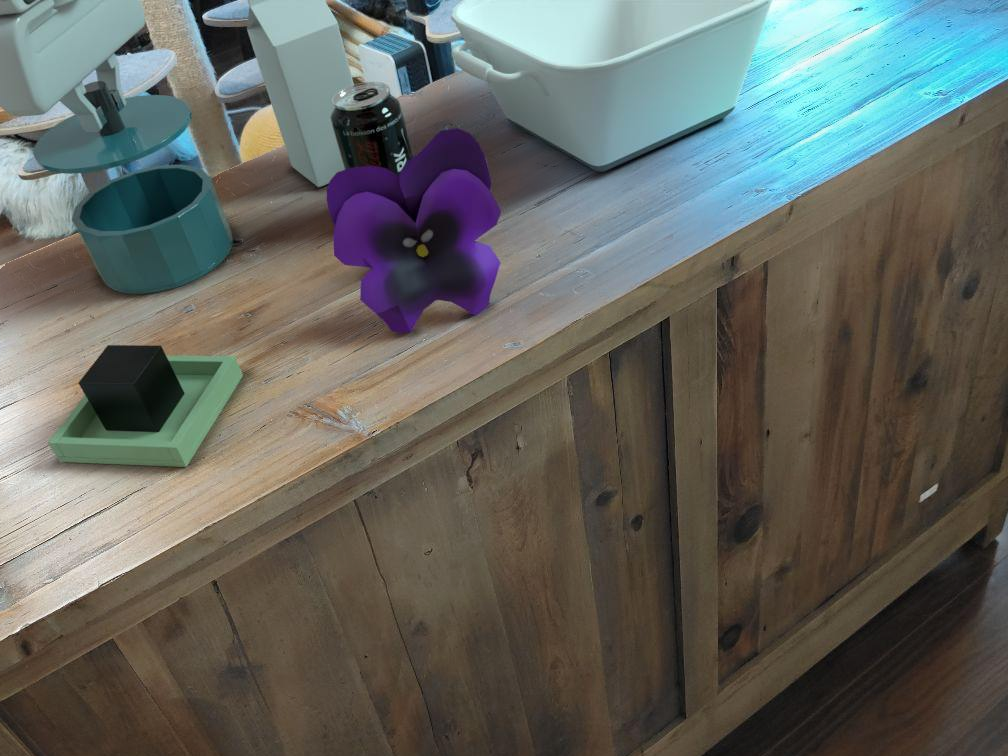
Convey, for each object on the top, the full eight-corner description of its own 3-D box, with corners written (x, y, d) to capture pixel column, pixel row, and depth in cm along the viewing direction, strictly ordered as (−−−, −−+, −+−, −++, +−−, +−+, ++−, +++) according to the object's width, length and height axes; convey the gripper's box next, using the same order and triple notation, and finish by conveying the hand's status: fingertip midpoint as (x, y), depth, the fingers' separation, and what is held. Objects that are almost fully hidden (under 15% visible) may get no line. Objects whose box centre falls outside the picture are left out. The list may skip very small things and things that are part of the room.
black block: (105, 430, 83) (77, 382, 80) (133, 392, 86) (107, 344, 83) (159, 432, 82) (133, 383, 78) (185, 393, 85) (161, 345, 82)
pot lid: (8, 182, 91) (-22, 128, 88) (87, 109, 101) (63, 57, 97) (151, 177, 88) (125, 120, 84) (219, 102, 98) (199, 48, 94)
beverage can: (435, 210, 102) (409, 92, 94) (376, 236, 100) (343, 118, 92) (405, 187, 107) (377, 72, 98) (348, 211, 105) (314, 96, 96)
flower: (361, 334, 98) (361, 348, 85) (312, 175, 93) (305, 164, 80) (504, 296, 99) (526, 303, 86) (464, 136, 94) (481, 120, 82)
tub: (559, 225, 97) (541, 92, 88) (427, 139, 114) (401, 20, 105) (821, 103, 107) (830, -28, 98) (665, 41, 124) (660, -76, 115)
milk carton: (375, 165, 111) (326, -21, 98) (318, 189, 109) (260, 2, 95) (347, 145, 116) (296, -36, 102) (292, 168, 114) (232, -13, 100)
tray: (59, 462, 82) (47, 442, 81) (125, 373, 90) (115, 354, 88) (186, 467, 79) (176, 447, 78) (243, 375, 87) (235, 355, 85)
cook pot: (77, 294, 101) (46, 236, 96) (139, 222, 109) (113, 166, 105) (199, 294, 97) (173, 234, 93) (253, 220, 106) (231, 162, 102)
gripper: (62, -83, 91) (128, 73, 101) (-72, 4, 77) (19, 174, 87) (123, -90, 89) (185, 69, 99) (-3, -2, 76) (82, 171, 86)
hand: (106, 119), depth 93 cm, fingers closed on pot lid, 2 cm apart
